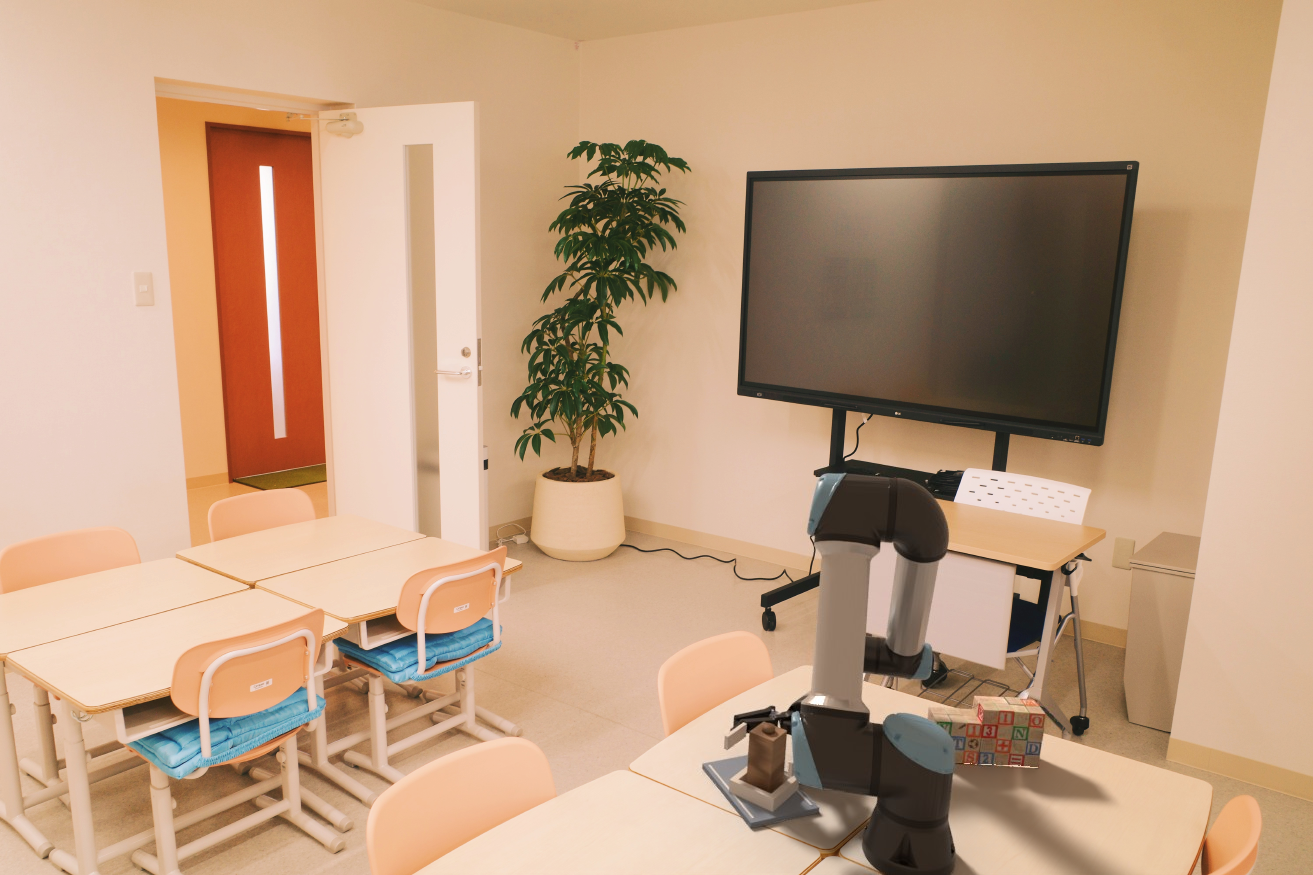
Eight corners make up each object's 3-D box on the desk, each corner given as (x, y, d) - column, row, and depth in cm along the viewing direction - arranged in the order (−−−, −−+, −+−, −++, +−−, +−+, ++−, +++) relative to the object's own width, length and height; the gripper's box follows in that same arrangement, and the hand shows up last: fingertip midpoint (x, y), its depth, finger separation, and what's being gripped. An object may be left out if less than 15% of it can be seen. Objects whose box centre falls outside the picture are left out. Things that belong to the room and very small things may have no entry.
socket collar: (798, 789, 165) (799, 776, 165) (772, 811, 158) (773, 799, 158) (755, 770, 171) (756, 758, 171) (728, 791, 164) (729, 779, 163)
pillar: (782, 789, 165) (787, 725, 163) (769, 801, 161) (773, 735, 159) (760, 779, 168) (764, 716, 166) (745, 790, 164) (749, 726, 162)
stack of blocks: (931, 763, 178) (937, 706, 176) (923, 746, 184) (929, 692, 182) (1039, 769, 177) (1046, 712, 175) (1027, 752, 184) (1034, 697, 181)
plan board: (818, 812, 160) (819, 806, 160) (750, 827, 155) (750, 822, 155) (765, 755, 178) (765, 750, 178) (702, 768, 173) (702, 762, 173)
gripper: (869, 752, 170) (817, 801, 154) (758, 709, 185) (700, 750, 169) (872, 716, 169) (820, 761, 152) (760, 676, 184) (702, 713, 167)
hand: (757, 755), depth 160 cm, fingers open, 13 cm apart
